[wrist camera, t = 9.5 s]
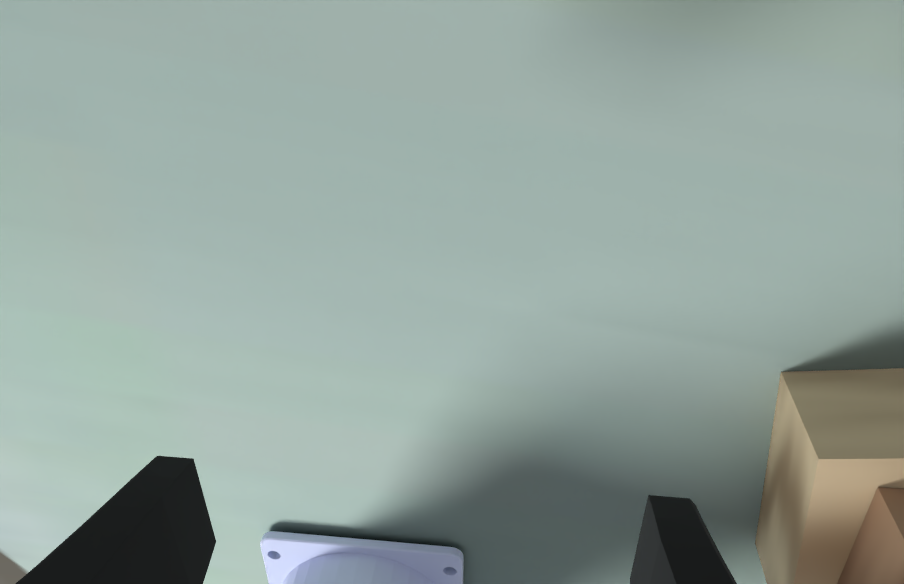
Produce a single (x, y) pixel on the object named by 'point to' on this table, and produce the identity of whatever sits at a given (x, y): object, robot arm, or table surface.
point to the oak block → (827, 468)
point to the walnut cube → (879, 542)
